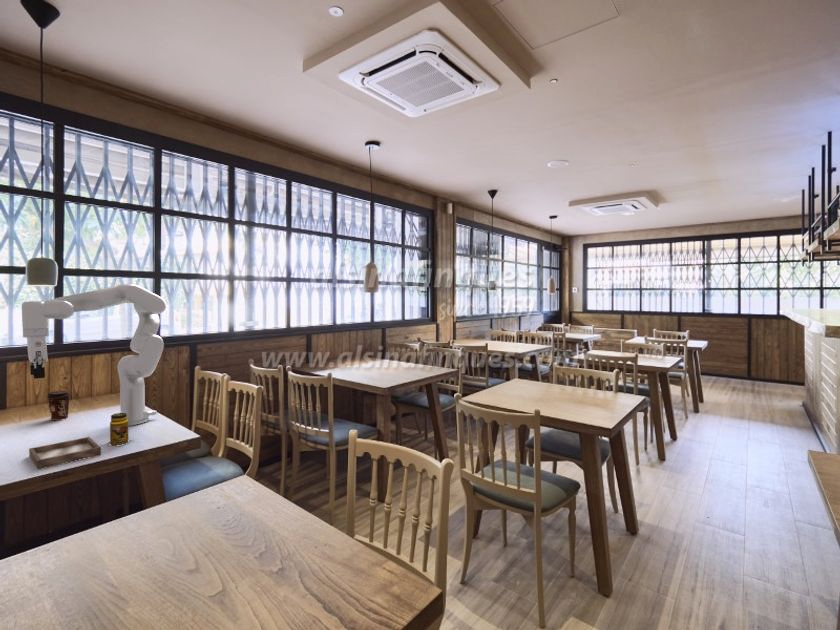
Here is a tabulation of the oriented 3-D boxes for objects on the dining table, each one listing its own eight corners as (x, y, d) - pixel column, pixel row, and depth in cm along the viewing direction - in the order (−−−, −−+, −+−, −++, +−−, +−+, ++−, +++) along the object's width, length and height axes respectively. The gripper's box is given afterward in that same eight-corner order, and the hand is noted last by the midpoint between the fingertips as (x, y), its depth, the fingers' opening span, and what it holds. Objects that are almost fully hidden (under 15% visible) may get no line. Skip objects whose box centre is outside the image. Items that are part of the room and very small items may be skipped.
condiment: (120, 446, 171) (120, 417, 170) (100, 445, 171) (100, 416, 171) (134, 440, 178) (133, 412, 177) (114, 439, 179) (114, 411, 178)
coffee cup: (43, 420, 202) (42, 393, 202) (62, 415, 210) (62, 389, 209) (55, 422, 199) (54, 394, 199) (74, 417, 207) (74, 391, 206)
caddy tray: (89, 444, 173) (89, 436, 173) (101, 455, 162) (100, 447, 162) (29, 456, 159) (29, 448, 159) (37, 469, 148) (37, 460, 148)
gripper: (51, 334, 165) (53, 378, 166) (45, 330, 176) (46, 371, 177) (25, 335, 159) (27, 381, 160) (20, 331, 171) (22, 374, 172)
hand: (37, 376), depth 169 cm, fingers open, 9 cm apart
